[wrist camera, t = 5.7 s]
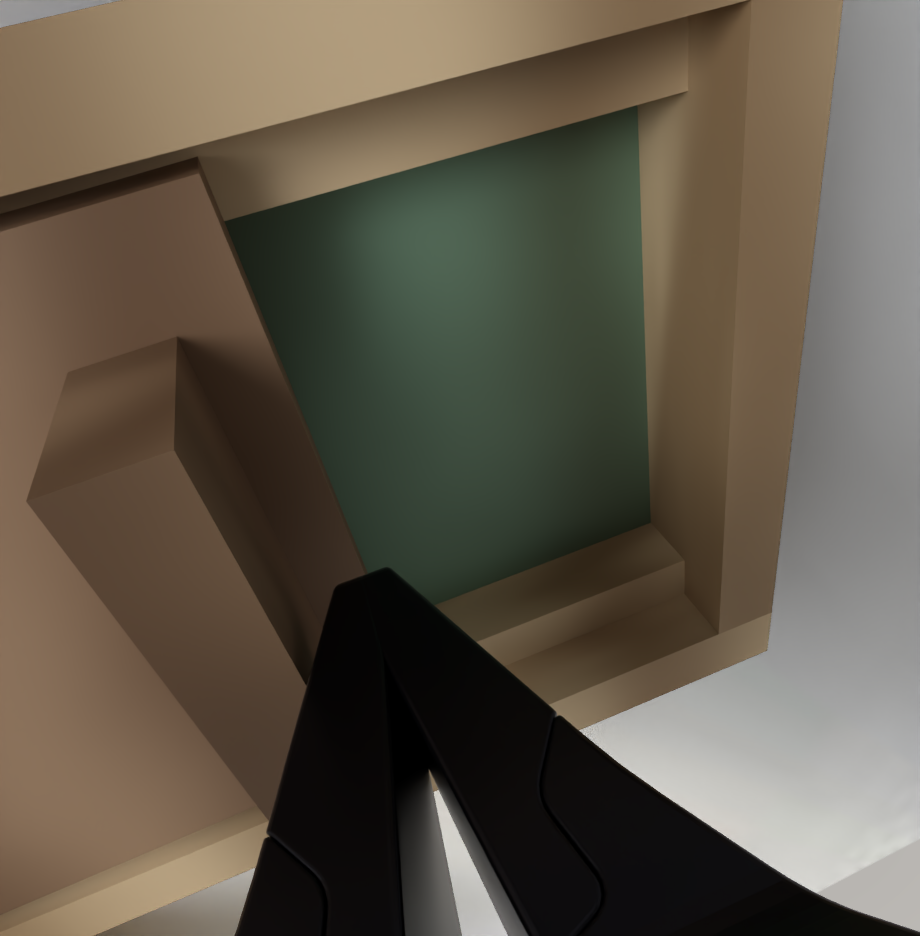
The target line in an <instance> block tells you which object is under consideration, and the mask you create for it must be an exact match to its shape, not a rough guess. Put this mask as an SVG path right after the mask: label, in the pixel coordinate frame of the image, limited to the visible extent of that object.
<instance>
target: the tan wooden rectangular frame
mask: <svg viewBox="0 0 920 936" xmlns="http://www.w3.org/2000/svg"><path fill="white" fill-rule="evenodd" d="M842 5H843V0H120V1H116V2H112V3H107V4H103V5H98V6H94V7H90V8H85V9H81V10H77V11H72V12H68V13H63V14H59V15H55V16H50V17H46V18H41V19H37V20H33V21H28V22H24V23H20V24H15V25H11V26H6V27H2V28H0V214H2V213H5V212H9V211H12V210H16V209H19V208H23V207H26V206H29V205H33V204H36V203H40V202H43V201H47V200H50V199H53V198H57V197H60V196H64V195H67V194H71V193H74V192H77V191H81V190H84V189H88V188H91V187H95V186H98V185H101V184H105V183H108V182H112V181H115V180H119V179H122V178H125V177H129V176H132V175H136V174H139V173H142V172H146V171H149V170H153V169H156V168H160V167H163V166H166V165H170V164H173V163H177V162H180V161H184V160H187V159H190V158H194V157H197V156H198V159H199V161H200V163H201V166H202V168H203V171H204V173H205V176H206V178H207V181H208V183H209V185H210V188H211V190H212V193H213V195H214V198H215V200H216V203H217V205H218V208H219V210H220V212H221V215H222V217H223V220H224V222H225V225H226V227H227V230H228V232H229V234H230V237H231V239H232V242H233V244H234V247H235V249H236V252H237V254H238V257H239V259H240V261H241V264H242V266H243V269H244V271H245V274H246V276H247V279H248V281H249V283H250V286H251V288H252V291H253V293H254V296H255V298H256V301H257V303H258V306H259V308H260V310H261V313H262V315H263V318H264V320H265V323H266V325H267V328H268V330H269V332H270V335H271V337H272V340H273V342H274V345H275V347H276V350H277V352H278V355H279V357H280V359H281V362H282V364H283V367H284V369H285V372H286V374H287V377H288V379H289V381H290V384H291V386H292V389H293V391H294V394H295V396H296V399H297V401H298V404H299V406H300V408H301V411H302V413H303V416H304V418H305V421H306V423H307V426H308V428H309V430H310V433H311V435H312V438H313V440H314V443H315V445H316V448H317V450H318V453H319V455H320V457H321V460H322V462H323V465H324V467H325V470H326V472H327V475H328V477H329V479H330V482H331V484H332V487H333V489H334V492H335V494H336V497H337V499H338V502H339V504H340V506H341V509H342V511H343V514H344V516H345V519H346V521H347V524H348V526H349V528H350V531H351V533H352V536H353V538H354V541H355V543H356V546H357V548H358V551H359V553H360V555H361V558H362V560H363V563H364V565H365V568H366V570H367V573H370V572H373V571H376V570H378V569H381V568H384V567H389V568H391V569H393V570H394V571H395V572H396V573H397V574H399V575H400V576H401V577H402V578H403V579H404V580H406V581H407V582H408V583H409V584H410V585H411V586H412V587H414V588H415V589H416V590H417V591H418V592H419V593H420V594H422V595H423V596H424V597H425V598H426V599H427V600H429V601H430V602H431V603H432V604H433V605H434V606H435V607H437V608H438V609H439V610H440V611H441V612H442V613H444V614H445V615H446V616H447V617H448V618H449V619H450V620H452V621H453V622H454V623H455V624H456V625H457V626H459V627H460V628H461V629H462V630H463V631H464V632H465V633H467V634H468V635H469V636H470V637H471V638H472V639H473V640H475V641H476V642H477V643H478V644H479V645H480V646H482V647H483V648H484V649H485V650H486V651H487V652H488V653H490V654H491V655H492V656H493V657H494V658H495V659H497V660H498V661H499V662H500V663H501V664H502V665H503V666H505V667H506V668H507V669H508V670H509V671H510V672H511V673H513V674H514V675H515V676H516V677H517V678H518V679H520V680H521V681H522V682H523V683H524V684H525V685H526V686H528V687H529V688H530V689H531V690H532V691H533V692H535V693H536V694H537V695H538V696H539V697H540V698H541V699H543V700H544V701H545V702H546V703H547V704H548V705H549V706H551V707H552V708H553V709H554V710H555V711H556V713H557V716H558V715H561V716H563V717H564V718H565V719H566V720H567V721H568V722H570V723H571V724H572V725H573V726H574V727H575V728H576V729H578V730H581V729H583V728H585V727H588V726H590V725H593V724H595V723H597V722H600V721H602V720H604V719H607V718H609V717H611V716H614V715H616V714H619V713H621V712H623V711H626V710H628V709H630V708H633V707H635V706H637V705H640V704H642V703H644V702H647V701H649V700H652V699H654V698H656V697H659V696H661V695H663V694H666V693H668V692H670V691H673V690H675V689H678V688H680V687H682V686H685V685H687V684H689V683H692V682H694V681H696V680H699V679H701V678H704V677H706V676H708V675H711V674H713V673H715V672H718V671H720V670H722V669H725V668H727V667H729V666H732V665H734V664H737V663H739V662H741V661H744V660H746V659H748V658H751V657H753V656H755V655H758V654H760V653H763V652H765V651H767V648H768V639H769V630H770V622H771V613H772V605H773V596H774V588H775V579H776V570H777V562H778V553H779V545H780V536H781V528H782V519H783V510H784V502H785V493H786V485H787V476H788V468H789V459H790V450H791V442H792V433H793V425H794V416H795V408H796V399H797V391H798V382H799V373H800V365H801V356H802V348H803V339H804V331H805V322H806V313H807V305H808V296H809V288H810V279H811V271H812V262H813V253H814V245H815V236H816V228H817V219H818V211H819V202H820V193H821V185H822V176H823V168H824V159H825V151H826V142H827V134H828V125H829V116H830V108H831V99H832V91H833V82H834V74H835V65H836V56H837V48H838V39H839V31H840V22H841V14H842ZM429 772H430V770H429ZM430 778H431V783H432V788H433V792H434V791H437V790H439V789H438V787H437V785H436V783H435V781H434V779H433V777H432V775H431V773H430ZM268 823H269V821H268V819H267V818H266V817H265V816H264V814H263V813H262V812H261V810H260V809H259V808H258V806H255V807H253V808H251V809H248V810H246V811H243V812H241V813H239V814H236V815H234V816H232V817H229V818H227V819H225V820H222V821H220V822H218V823H215V824H213V825H211V826H208V827H206V828H204V829H201V830H199V831H196V832H194V833H192V834H189V835H187V836H185V837H182V838H180V839H178V840H175V841H173V842H171V843H168V844H166V845H164V846H161V847H159V848H157V849H154V850H152V851H149V852H147V853H145V854H142V855H140V856H138V857H135V858H133V859H131V860H128V861H126V862H124V863H121V864H119V865H117V866H114V867H112V868H110V869H107V870H105V871H102V872H100V873H98V874H95V875H93V876H91V877H88V878H86V879H84V880H81V881H79V882H77V883H74V884H72V885H70V886H67V887H65V888H62V889H60V890H58V891H55V892H53V893H51V894H48V895H46V896H44V897H41V898H39V899H37V900H34V901H32V902H30V903H27V904H25V905H23V906H20V907H18V908H15V909H13V910H11V911H8V912H6V913H4V914H1V915H0V936H94V935H97V934H99V933H101V932H104V931H106V930H108V929H111V928H113V927H116V926H118V925H120V924H123V923H125V922H127V921H130V920H132V919H134V918H137V917H139V916H142V915H144V914H146V913H149V912H151V911H153V910H156V909H158V908H160V907H163V906H165V905H168V904H170V903H172V902H175V901H177V900H179V899H182V898H184V897H186V896H189V895H191V894H193V893H196V892H198V891H201V890H203V889H205V888H208V887H210V886H212V885H215V884H217V883H219V882H222V881H224V880H227V879H229V878H231V877H234V876H236V875H238V874H241V873H243V872H245V871H248V870H250V869H253V868H255V867H256V865H257V861H258V857H259V854H260V850H261V847H262V843H263V840H264V839H265V838H266V837H268V835H267V834H266V830H267V826H268Z"/></svg>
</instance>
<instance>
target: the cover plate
mask: <svg viewBox="0 0 920 936" xmlns="http://www.w3.org/2000/svg"><path fill="white" fill-rule="evenodd" d="M365 574H368V573H367V570H366V568H365V565H364V563H363V560H362V558H361V555H360V553H359V551H358V548H357V546H356V543H355V541H354V538H353V536H352V533H351V531H350V528H349V526H348V524H347V521H346V519H345V516H344V514H343V511H342V509H341V506H340V504H339V502H338V499H337V497H336V494H335V492H334V489H333V487H332V484H331V482H330V479H329V477H328V475H327V472H326V470H325V467H324V465H323V462H322V460H321V457H320V455H319V453H318V450H317V448H316V445H315V443H314V440H313V438H312V435H311V433H310V430H309V428H308V426H307V423H306V421H305V418H304V416H303V413H302V411H301V408H300V406H299V404H298V401H297V399H296V396H295V394H294V391H293V389H292V386H291V384H290V381H289V379H288V377H287V374H286V372H285V369H284V367H283V364H282V362H281V359H280V357H279V355H278V352H277V350H276V347H275V345H274V342H273V340H272V337H271V335H270V332H269V330H268V328H267V325H266V323H265V320H264V318H263V315H262V313H261V310H260V308H259V306H258V303H257V301H256V298H255V296H254V293H253V291H252V288H251V286H250V283H249V281H248V279H247V276H246V274H245V271H244V269H243V266H242V264H241V261H240V259H239V257H238V254H237V252H236V249H235V247H234V244H233V242H232V239H231V237H230V234H229V232H228V230H227V227H226V225H225V222H224V220H223V217H222V215H221V212H220V210H219V208H218V205H217V203H216V200H215V198H214V195H213V193H212V190H211V188H210V185H209V183H208V181H207V178H206V176H205V173H204V171H203V168H202V166H201V163H200V161H199V159H198V156H197V157H194V158H190V159H187V160H184V161H180V162H177V163H173V164H170V165H166V166H163V167H160V168H156V169H153V170H149V171H146V172H142V173H139V174H136V175H132V176H129V177H125V178H122V179H119V180H115V181H112V182H108V183H105V184H101V185H98V186H95V187H91V188H88V189H84V190H81V191H77V192H74V193H71V194H67V195H64V196H60V197H57V198H53V199H50V200H47V201H43V202H40V203H36V204H33V205H29V206H26V207H23V208H19V209H16V210H12V211H9V212H5V213H2V214H0V915H1V914H4V913H6V912H8V911H11V910H13V909H15V908H18V907H20V906H23V905H25V904H27V903H30V902H32V901H34V900H37V899H39V898H41V897H44V896H46V895H48V894H51V893H53V892H55V891H58V890H60V889H62V888H65V887H67V886H70V885H72V884H74V883H77V882H79V881H81V880H84V879H86V878H88V877H91V876H93V875H95V874H98V873H100V872H102V871H105V870H107V869H110V868H112V867H114V866H117V865H119V864H121V863H124V862H126V861H128V860H131V859H133V858H135V857H138V856H140V855H142V854H145V853H147V852H149V851H152V850H154V849H157V848H159V847H161V846H164V845H166V844H168V843H171V842H173V841H175V840H178V839H180V838H182V837H185V836H187V835H189V834H192V833H194V832H196V831H199V830H201V829H204V828H206V827H208V826H211V825H213V824H215V823H218V822H220V821H222V820H225V819H227V818H229V817H232V816H234V815H236V814H239V813H241V812H243V811H246V810H248V809H251V808H253V807H255V806H258V808H259V809H260V810H261V812H262V813H263V814H264V816H265V817H266V818H267V819H268V821H269V819H270V816H271V812H272V808H273V805H274V801H275V798H276V794H277V790H278V787H279V783H280V780H281V776H282V772H283V769H284V765H285V762H286V758H287V755H288V751H289V747H290V744H291V740H292V737H293V733H294V729H295V726H296V722H297V719H298V715H299V711H300V708H301V704H302V701H303V697H304V694H305V690H306V686H307V683H308V679H309V676H310V672H311V668H312V665H313V661H314V658H315V654H316V651H317V647H318V643H319V640H320V636H321V633H322V629H323V625H324V622H325V618H326V615H327V611H328V607H329V604H330V600H331V597H332V593H333V590H334V588H335V587H336V586H337V585H338V584H341V583H343V582H346V581H349V580H351V579H354V578H357V577H360V576H363V575H365Z"/></svg>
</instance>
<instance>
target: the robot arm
mask: <svg viewBox="0 0 920 936" xmlns="http://www.w3.org/2000/svg"><path fill="white" fill-rule="evenodd" d="M429 770H430V772H429ZM430 773H431V775H432V777H433V779H434V781H435V783H436V785H437V787H438V789H439V791H440V794H441V796H442V798H443V800H444V802H445V804H446V806H447V808H448V810H449V812H450V815H451V817H452V819H453V821H454V823H455V825H456V827H457V829H458V831H459V833H460V836H461V838H462V840H463V842H464V844H465V846H466V848H467V850H468V852H469V854H470V857H471V859H472V861H473V863H474V865H475V867H476V869H477V871H478V873H479V875H480V878H481V880H482V882H483V884H484V886H485V888H486V890H487V892H488V894H489V897H490V899H491V901H492V903H493V905H494V907H495V909H496V911H497V913H498V915H499V918H500V920H501V922H502V924H503V926H504V928H505V930H506V932H507V934H508V936H920V932H918V931H915V930H912V929H909V928H906V927H903V926H900V925H897V924H894V923H891V922H888V921H885V920H882V919H879V918H876V917H873V916H870V915H867V914H864V913H861V912H858V911H855V910H853V909H850V908H847V907H845V906H843V905H840V904H838V903H836V902H833V901H831V900H829V899H826V898H825V897H823V896H821V895H819V894H817V893H815V892H813V891H811V890H809V889H807V888H805V887H804V886H802V885H800V884H798V883H797V882H795V881H793V880H791V879H790V878H788V877H786V876H785V875H783V874H782V873H780V872H779V871H777V870H775V869H774V868H772V867H771V866H769V865H768V864H766V863H765V862H763V861H762V860H760V859H759V858H757V857H756V856H754V855H753V854H751V853H750V852H748V851H747V850H745V849H744V848H742V847H741V846H739V845H738V844H736V843H735V842H733V841H732V840H730V839H729V838H727V837H726V836H724V835H723V834H721V833H720V832H718V831H717V830H715V829H714V828H712V827H711V826H709V825H708V824H706V823H705V822H703V821H702V820H700V819H699V818H697V817H696V816H694V815H693V814H691V813H690V812H688V811H687V810H685V809H684V808H682V807H681V806H679V805H678V804H676V803H675V802H673V801H672V800H670V799H669V798H667V797H666V796H664V795H663V794H661V793H660V792H658V791H657V790H656V789H654V788H653V787H651V786H650V785H649V784H647V783H646V782H644V781H643V780H642V779H640V778H639V777H637V776H636V775H635V774H633V773H632V772H630V771H629V770H628V769H626V768H625V767H623V766H622V765H621V764H619V763H618V762H617V761H615V760H614V759H613V758H612V757H611V756H609V755H608V754H607V753H606V752H604V751H603V750H602V749H601V748H599V747H598V746H597V745H596V744H594V743H593V742H592V741H591V740H590V739H588V738H587V737H586V736H585V735H583V734H582V733H581V732H580V731H579V730H578V729H576V728H575V727H574V726H573V725H572V724H571V723H570V722H568V721H567V720H566V719H565V718H564V717H563V716H561V715H558V716H557V713H556V711H555V710H554V709H553V708H552V707H551V706H549V705H548V704H547V703H546V702H545V701H544V700H543V699H541V698H540V697H539V696H538V695H537V694H536V693H535V692H533V691H532V690H531V689H530V688H529V687H528V686H526V685H525V684H524V683H523V682H522V681H521V680H520V679H518V678H517V677H516V676H515V675H514V674H513V673H511V672H510V671H509V670H508V669H507V668H506V667H505V666H503V665H502V664H501V663H500V662H499V661H498V660H497V659H495V658H494V657H493V656H492V655H491V654H490V653H488V652H487V651H486V650H485V649H484V648H483V647H482V646H480V645H479V644H478V643H477V642H476V641H475V640H473V639H472V638H471V637H470V636H469V635H468V634H467V633H465V632H464V631H463V630H462V629H461V628H460V627H459V626H457V625H456V624H455V623H454V622H453V621H452V620H450V619H449V618H448V617H447V616H446V615H445V614H444V613H442V612H441V611H440V610H439V609H438V608H437V607H435V606H434V605H433V604H432V603H431V602H430V601H429V600H427V599H426V598H425V597H424V596H423V595H422V594H420V593H419V592H418V591H417V590H416V589H415V588H414V587H412V586H411V585H410V584H409V583H408V582H407V581H406V580H404V579H403V578H402V577H401V576H400V575H399V574H397V573H396V572H395V571H394V570H393V569H391V568H389V567H384V568H381V569H378V570H376V571H373V572H370V573H368V574H365V575H363V576H360V577H357V578H354V579H351V580H349V581H346V582H343V583H341V584H338V585H337V586H336V587H335V588H334V590H333V593H332V597H331V600H330V604H329V607H328V611H327V615H326V618H325V622H324V625H323V629H322V633H321V636H320V640H319V643H318V647H317V651H316V654H315V658H314V661H313V665H312V668H311V672H310V676H309V679H308V683H307V686H306V690H305V694H304V697H303V701H302V704H301V708H300V711H299V715H298V719H297V722H296V726H295V729H294V733H293V737H292V740H291V744H290V747H289V751H288V755H287V758H286V762H285V765H284V769H283V772H282V776H281V780H280V783H279V787H278V790H277V794H276V798H275V801H274V805H273V808H272V812H271V816H270V819H269V823H268V826H267V830H266V834H267V835H268V837H266V838H265V839H264V840H263V843H262V847H261V850H260V854H259V857H258V861H257V865H256V868H255V872H254V876H253V879H252V882H251V885H250V889H249V892H248V895H247V898H246V901H245V905H244V908H243V911H242V914H241V918H240V921H239V924H238V927H237V930H236V933H235V936H462V934H461V929H460V924H459V919H458V914H457V909H456V904H455V899H454V893H453V888H452V883H451V878H450V873H449V868H448V863H447V858H446V853H445V848H444V843H443V838H442V833H441V828H440V823H439V818H438V813H437V808H436V803H435V798H434V793H433V788H432V783H431V778H430Z"/></svg>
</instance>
